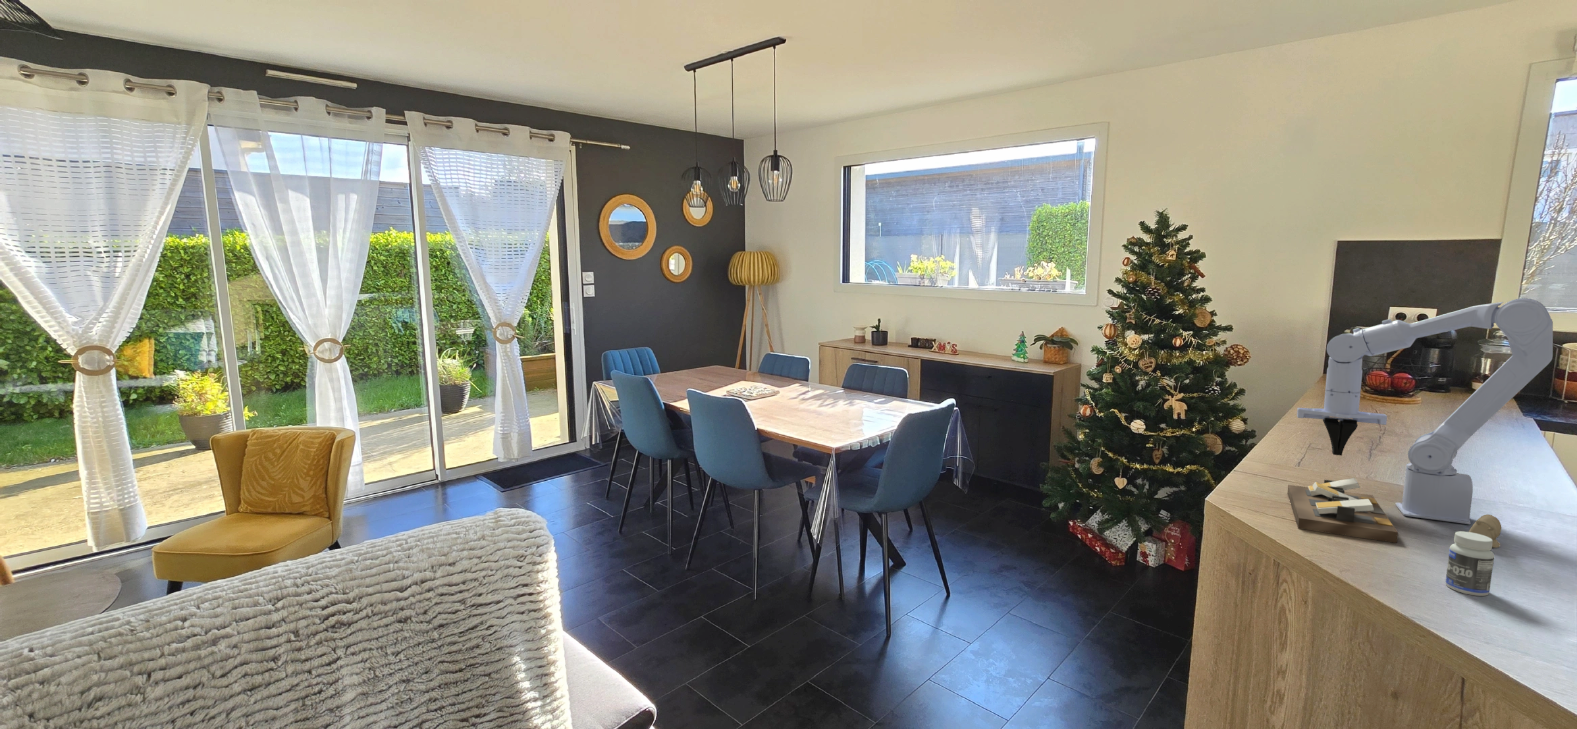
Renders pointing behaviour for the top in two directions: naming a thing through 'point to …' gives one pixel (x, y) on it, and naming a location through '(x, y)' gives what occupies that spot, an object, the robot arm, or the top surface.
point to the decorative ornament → (1488, 528)
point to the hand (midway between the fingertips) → (1336, 454)
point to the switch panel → (1340, 515)
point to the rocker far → (1338, 485)
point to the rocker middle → (1329, 491)
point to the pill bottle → (1470, 564)
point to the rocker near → (1344, 505)
